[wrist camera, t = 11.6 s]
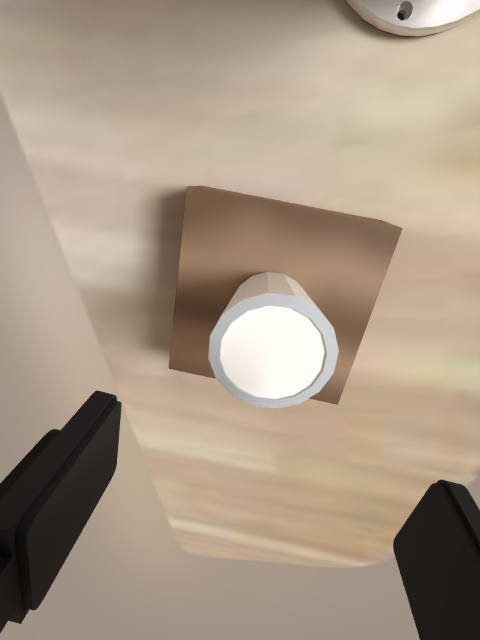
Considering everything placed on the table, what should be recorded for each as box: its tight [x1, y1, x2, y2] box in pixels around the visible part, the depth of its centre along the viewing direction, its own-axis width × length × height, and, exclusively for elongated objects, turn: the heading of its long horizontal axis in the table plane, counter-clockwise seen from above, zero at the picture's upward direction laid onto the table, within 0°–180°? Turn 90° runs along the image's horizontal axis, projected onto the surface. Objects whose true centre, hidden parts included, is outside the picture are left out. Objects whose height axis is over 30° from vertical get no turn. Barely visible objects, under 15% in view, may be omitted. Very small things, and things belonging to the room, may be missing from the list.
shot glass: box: [208, 272, 339, 409], centre depth 20 cm, size 7×7×7 cm
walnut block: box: [169, 186, 402, 405], centre depth 26 cm, size 14×14×5 cm
